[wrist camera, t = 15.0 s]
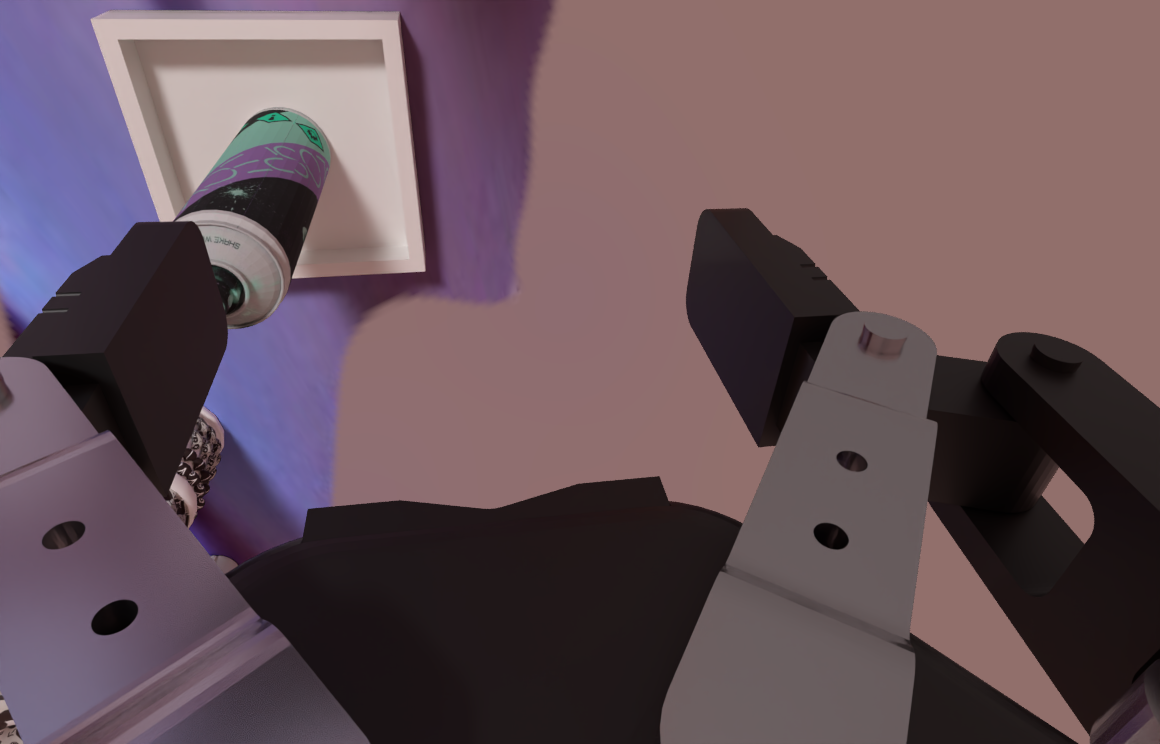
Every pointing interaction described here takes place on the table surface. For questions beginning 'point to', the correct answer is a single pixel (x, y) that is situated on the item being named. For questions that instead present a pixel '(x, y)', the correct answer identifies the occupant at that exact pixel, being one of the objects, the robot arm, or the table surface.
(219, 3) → the table surface
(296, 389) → the table surface
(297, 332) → the table surface
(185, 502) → the decorative candle
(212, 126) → the tray
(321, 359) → the table surface
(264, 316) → the spray can
